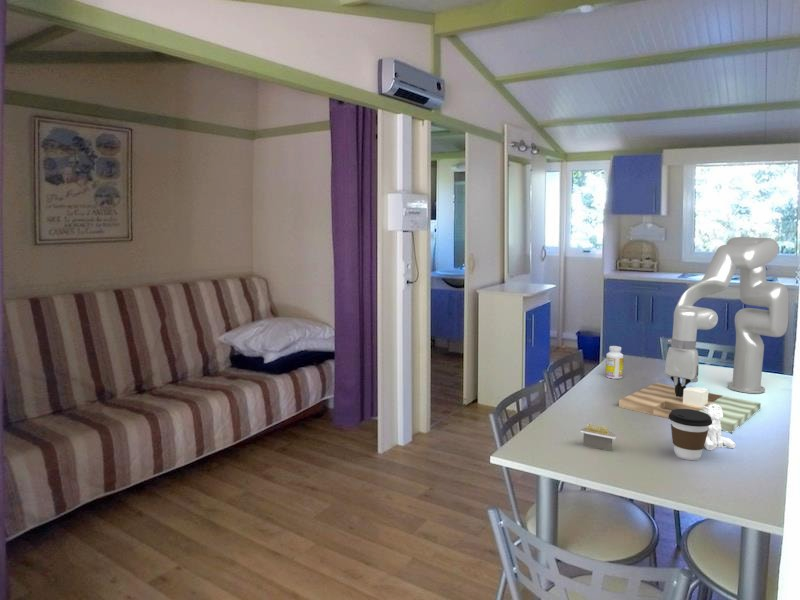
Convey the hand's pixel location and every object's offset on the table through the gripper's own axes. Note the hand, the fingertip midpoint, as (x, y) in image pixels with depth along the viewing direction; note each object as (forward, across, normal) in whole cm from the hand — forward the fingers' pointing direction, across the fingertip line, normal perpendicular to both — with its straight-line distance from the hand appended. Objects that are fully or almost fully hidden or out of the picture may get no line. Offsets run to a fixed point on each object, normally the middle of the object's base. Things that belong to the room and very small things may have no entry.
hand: (679, 395), depth 212 cm
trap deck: (+4, +3, 0) cm, 5 cm away
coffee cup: (+4, +19, -45) cm, 49 cm away
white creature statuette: (+4, +21, -30) cm, 37 cm away
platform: (+5, -2, -56) cm, 57 cm away
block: (+1, +6, -1) cm, 6 cm away
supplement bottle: (+4, -34, +21) cm, 40 cm away
